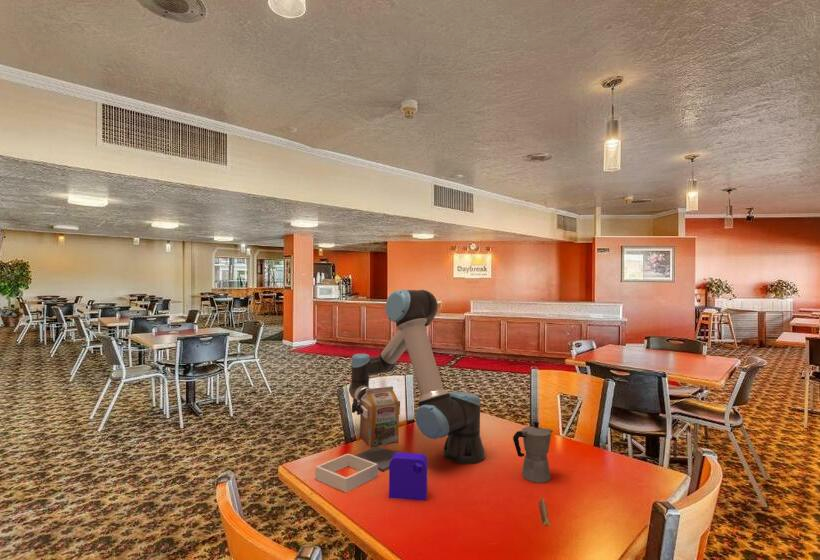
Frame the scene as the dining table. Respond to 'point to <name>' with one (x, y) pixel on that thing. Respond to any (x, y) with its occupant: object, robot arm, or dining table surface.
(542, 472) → the coffeepot
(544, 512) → the wooden stick
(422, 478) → the bracket
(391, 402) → the milk carton
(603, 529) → the dining table surface
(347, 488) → the carton holder
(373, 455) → the rubber mat
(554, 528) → the dining table surface
